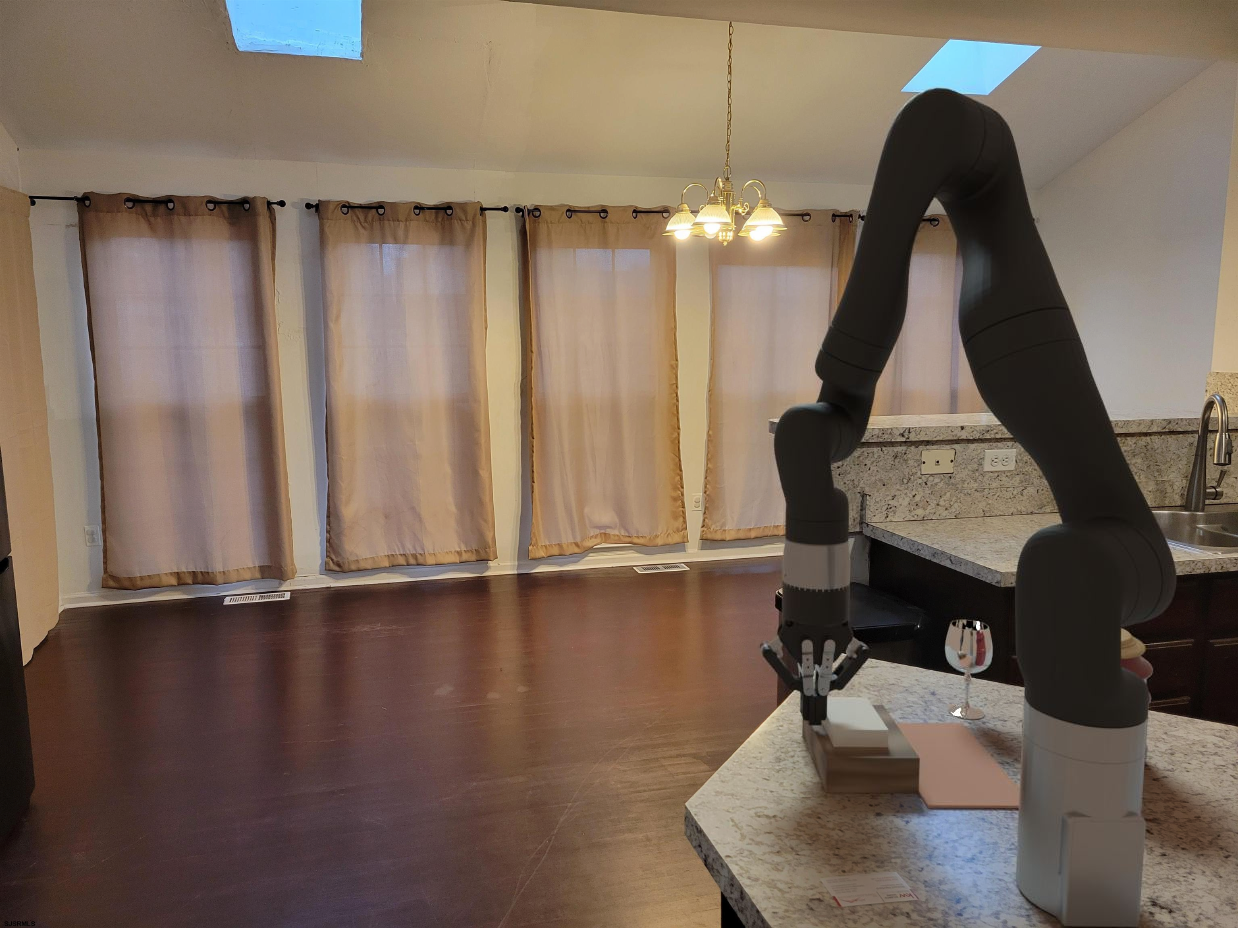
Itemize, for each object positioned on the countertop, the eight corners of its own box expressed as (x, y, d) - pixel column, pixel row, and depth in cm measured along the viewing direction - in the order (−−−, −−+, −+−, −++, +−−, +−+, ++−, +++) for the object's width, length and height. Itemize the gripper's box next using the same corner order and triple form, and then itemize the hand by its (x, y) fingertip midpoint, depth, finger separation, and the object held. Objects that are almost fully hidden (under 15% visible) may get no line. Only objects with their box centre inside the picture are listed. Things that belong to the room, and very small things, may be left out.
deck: (918, 792, 90) (919, 758, 89) (826, 792, 90) (826, 757, 90) (882, 735, 104) (883, 704, 103) (802, 735, 104) (802, 704, 104)
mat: (1034, 808, 87) (1034, 805, 86) (928, 807, 87) (928, 804, 87) (962, 725, 106) (962, 722, 106) (875, 724, 107) (876, 722, 107)
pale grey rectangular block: (888, 746, 92) (888, 729, 92) (833, 746, 92) (834, 729, 92) (866, 712, 101) (866, 697, 101) (817, 712, 101) (817, 697, 101)
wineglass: (997, 721, 107) (1001, 632, 106) (952, 721, 107) (955, 632, 106) (979, 703, 113) (982, 618, 112) (936, 703, 113) (939, 618, 112)
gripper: (762, 587, 91) (761, 737, 93) (883, 586, 90) (879, 737, 93) (753, 570, 98) (752, 709, 100) (865, 569, 98) (861, 709, 100)
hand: (813, 722), depth 96 cm, fingers closed
